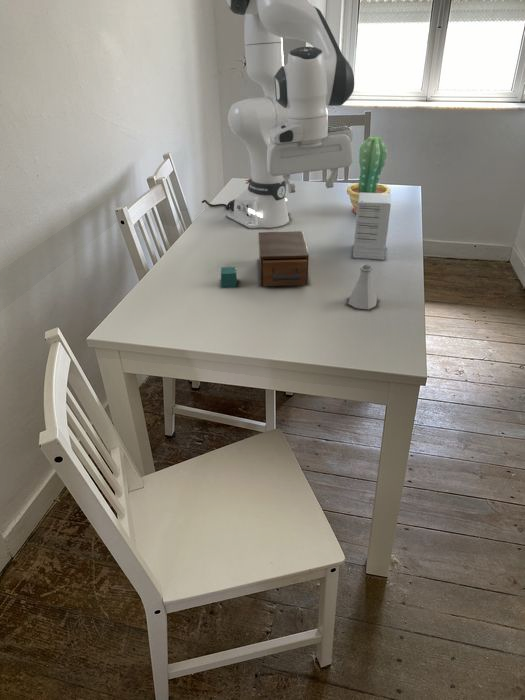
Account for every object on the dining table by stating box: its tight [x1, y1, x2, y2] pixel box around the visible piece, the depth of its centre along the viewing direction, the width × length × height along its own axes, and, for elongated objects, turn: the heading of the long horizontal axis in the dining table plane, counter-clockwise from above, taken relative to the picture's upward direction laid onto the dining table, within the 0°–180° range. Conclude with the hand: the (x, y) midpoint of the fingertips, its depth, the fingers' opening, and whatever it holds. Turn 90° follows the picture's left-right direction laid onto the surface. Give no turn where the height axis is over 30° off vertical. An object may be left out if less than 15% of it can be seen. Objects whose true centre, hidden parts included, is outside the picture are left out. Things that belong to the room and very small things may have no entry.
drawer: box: [262, 258, 307, 287], centre depth 142 cm, size 21×11×7 cm, turn 2°
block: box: [220, 266, 238, 288], centre depth 142 cm, size 4×4×4 cm
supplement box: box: [352, 193, 392, 261], centre depth 154 cm, size 10×9×17 cm
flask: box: [347, 263, 378, 310], centre depth 131 cm, size 7×7×10 cm
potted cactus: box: [346, 135, 391, 214], centre depth 182 cm, size 15×15×25 cm
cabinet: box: [258, 230, 310, 287], centre depth 147 cm, size 17×13×9 cm
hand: (310, 189), depth 128 cm, fingers open, 8 cm apart
